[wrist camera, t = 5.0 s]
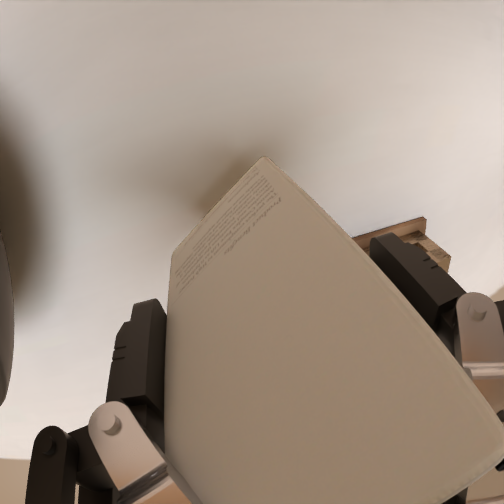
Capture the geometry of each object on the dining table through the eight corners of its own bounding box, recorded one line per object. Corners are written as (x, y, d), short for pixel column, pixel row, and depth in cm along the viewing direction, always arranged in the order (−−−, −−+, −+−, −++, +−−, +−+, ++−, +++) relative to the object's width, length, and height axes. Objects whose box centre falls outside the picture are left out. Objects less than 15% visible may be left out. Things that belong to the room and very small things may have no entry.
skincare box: (238, 295, 15) (304, 548, 5) (165, 248, 13) (164, 567, 3) (328, 209, 14) (511, 447, 3) (260, 142, 11) (523, 461, 1)
